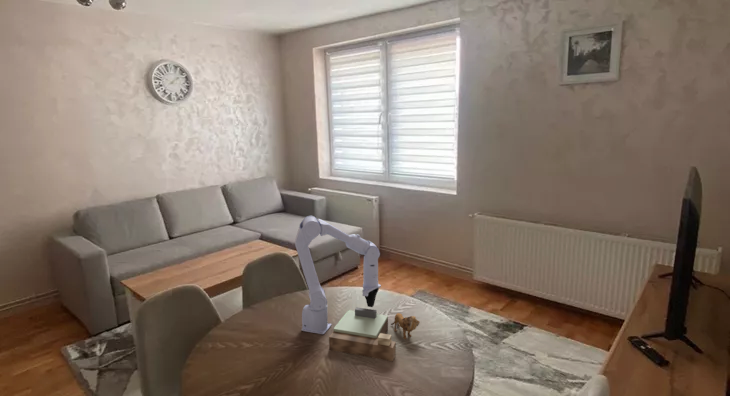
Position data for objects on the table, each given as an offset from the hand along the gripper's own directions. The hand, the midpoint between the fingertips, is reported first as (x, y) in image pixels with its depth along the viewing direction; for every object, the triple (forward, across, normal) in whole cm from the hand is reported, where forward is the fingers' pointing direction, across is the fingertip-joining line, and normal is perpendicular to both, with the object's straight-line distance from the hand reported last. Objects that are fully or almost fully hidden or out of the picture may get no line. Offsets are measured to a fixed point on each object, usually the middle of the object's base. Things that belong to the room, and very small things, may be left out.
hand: (370, 306), depth 166 cm
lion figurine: (+8, -4, -15) cm, 17 cm away
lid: (+2, -11, 0) cm, 12 cm away
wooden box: (+7, -13, -4) cm, 16 cm away
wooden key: (+2, -21, -12) cm, 24 cm away
